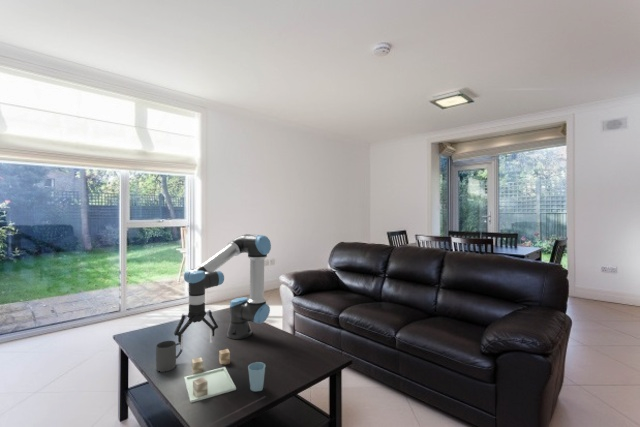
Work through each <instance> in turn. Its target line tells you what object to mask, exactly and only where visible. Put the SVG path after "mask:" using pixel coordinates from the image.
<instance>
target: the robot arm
mask: <svg viewBox="0 0 640 427" xmlns="http://www.w3.org/2000/svg"><path fill="white" fill-rule="evenodd" d="M271 248H272V243H271V240H270V238H268V236H266V235H263V234H247V233H245V234H242V235H240V236H237V237H236V238H234V239H232V240H230V242H228V243H227V245H226V247H224V248H222V249H221V250H219V251H218V252H217V253H215V254H214V255H213V256H211V257H210V258H208V259H207V260H206V261H204V262H203V263H201V264H200V265H199V266H197V267H196V268H191V269H190V268H189V269H186V271H185V272H184V275H183V278H184V279H183V280H184V281H185V282H186V283H187V284H188V313H187V314H185V313H182V314H181V317H180V320H179V322H178V324H177V326H176V328H175V330H174V332H173V334H174V336H175V337H177V341H178V342H177V343H181V347H180V349H181V350H182V351H183V350H184V335H183V334H184V333H185V331H186V330H187V329H188V328H189V327H190V325H191V324H192V323H193V324H195V323H200V322H204V323H205V325H207V326H208V327H209V328H210V329H209V344H210V345H213V337H215V331H216V329H219V325H218V324H217V322H216V320H215V318H214V316H213V312H212V310H211V309H209V310H207V311H206V303H205V302H206V290H207V289H209V288H215V287H218V286H220V285H222V284H224V281H225V274H224V273H223V272H222V271H220V270H218V269H220V267H222V266H223V265H225V264H226V263H227V262H228V261H230V260H231V259H233V257H237V256H239V255H241V254H244V253H246V254H247V258H249V259H250V261H249V262H250V263H249V297H246V296H243V297H236V298H234V299H232V300H230V304H229V325H228V329H227V332H226V334H227V338H229V339H234V340H240V339H242V340H243V339H246V338H249V337H250V336H251V335H252V327H251V325H250V322H252V323H255V324H263V323H265V322H266V321H267V319H268V317H269V316H270V313H271V312H270V311H271V307H270V306H269V304H267V299H266V298H265V295H264V294H265V292H264V290H265V259H266V258H267V257H268V254H270V251H271ZM206 315H207V316H209V318H210V321H211V322H212V324H213V325H212V324H211V322H209V321H208V319H206V317H205V316H206ZM187 318H188V320H187V321H186V323H185V324H184V322H185V320H186V319H187ZM183 324H184V325H183ZM182 326H183V327H182Z"/></svg>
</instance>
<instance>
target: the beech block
mask: <svg viewBox="0 0 640 427" xmlns="http://www.w3.org/2000/svg"><path fill="white" fill-rule="evenodd" d="M203 363H204V361H203V358H202V357H197V358H192V359H191V372H192V375H194V374H198V373H202V372H204V367H203V365H204V364H203Z"/></svg>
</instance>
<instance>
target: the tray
mask: <svg viewBox="0 0 640 427" xmlns="http://www.w3.org/2000/svg"><path fill="white" fill-rule="evenodd" d="M202 377H204V378H205V379H206V380H207V381H208V395H204V396H201V397H197V398H196V397H195V396H194V395H193V381H194V380H197V379H199V378H202ZM183 379H184V380H183V381H184V384H185V388H186V390H187V396H188V398H189V402H190V404H192V403H195V402H198V401H202V400H205V399H206V400H207V399H209V398H212V397H216V396H219V395H222V394H227V393H229V392H233V391H236V390H237V387H236V385H235V383H234V381H233V379H232V377H231V375H230V373H229V372H228V370H227V368H226V366H223V367H219V368H218V367H217V368H215V369H212V370H207V371H203V372H201V373H196V374H191V375H187V376H183Z"/></svg>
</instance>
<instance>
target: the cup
mask: <svg viewBox="0 0 640 427" xmlns="http://www.w3.org/2000/svg"><path fill="white" fill-rule="evenodd" d="M247 370H248V379H249V388H250V391H252V392H261V391H263V390H264V389H263V388H264V384H265V382H264V381H265V374H266V363H264V362H261V361H256V362H252V363H250V364H248V366H247Z"/></svg>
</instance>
